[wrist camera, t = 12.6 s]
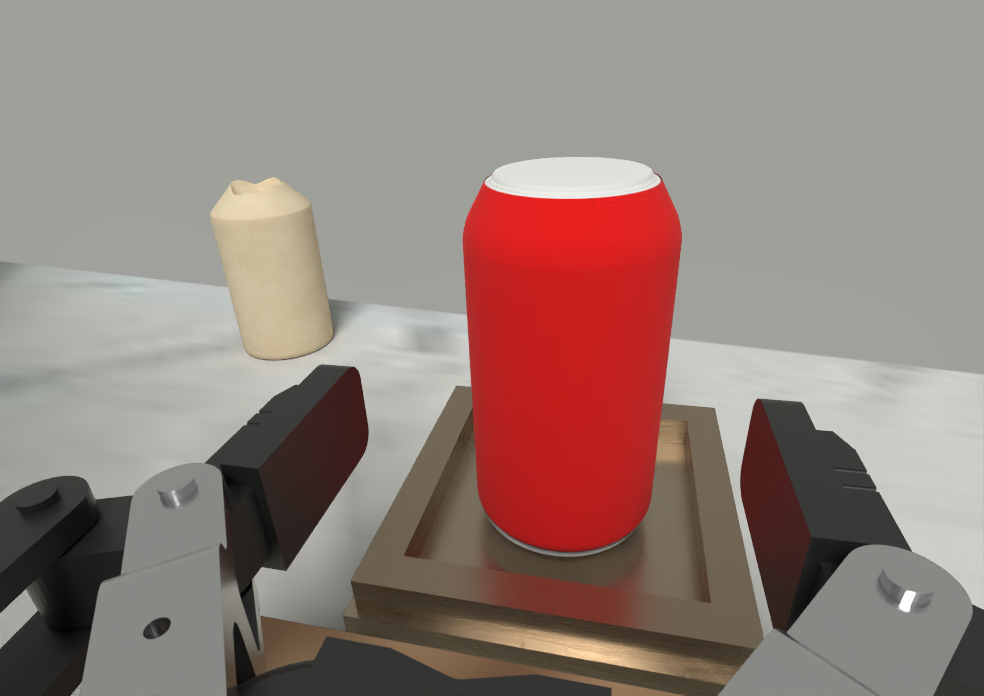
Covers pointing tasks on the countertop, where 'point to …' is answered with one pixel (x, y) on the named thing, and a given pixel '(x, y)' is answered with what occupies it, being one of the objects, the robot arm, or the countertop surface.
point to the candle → (273, 269)
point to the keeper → (569, 571)
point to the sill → (304, 642)
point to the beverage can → (569, 346)
